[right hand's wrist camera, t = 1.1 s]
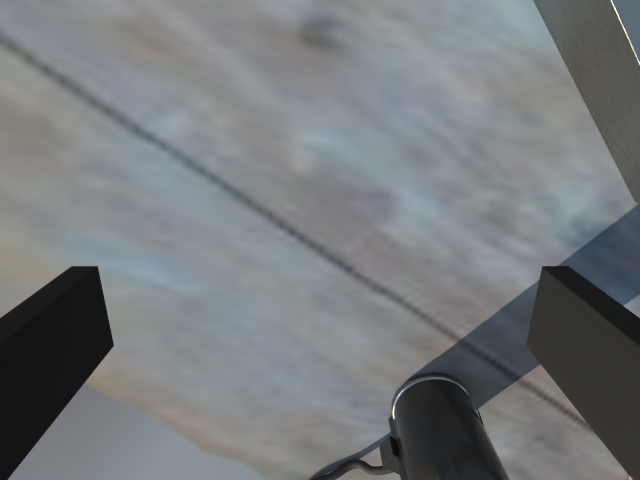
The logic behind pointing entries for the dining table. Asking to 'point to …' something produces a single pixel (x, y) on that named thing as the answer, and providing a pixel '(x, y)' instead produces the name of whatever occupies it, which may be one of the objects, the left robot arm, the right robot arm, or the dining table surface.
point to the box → (604, 70)
